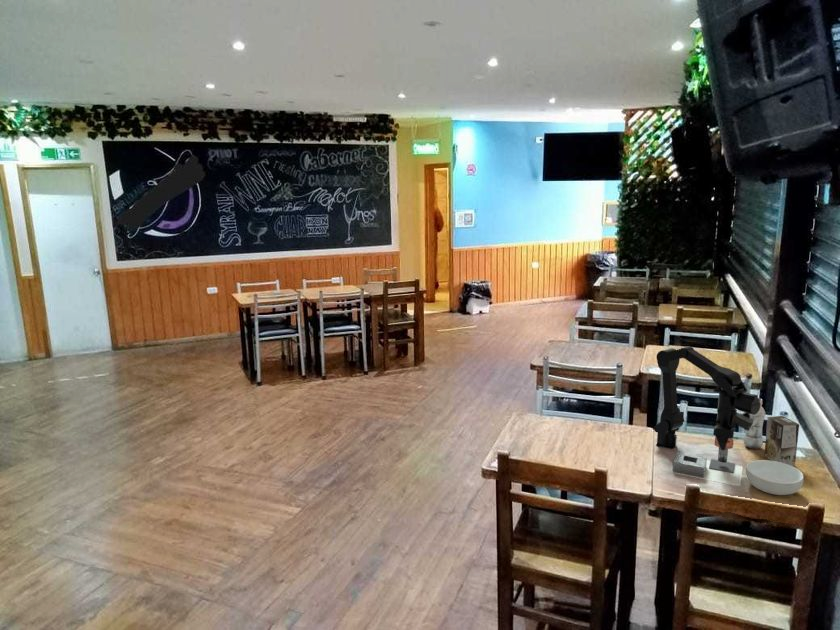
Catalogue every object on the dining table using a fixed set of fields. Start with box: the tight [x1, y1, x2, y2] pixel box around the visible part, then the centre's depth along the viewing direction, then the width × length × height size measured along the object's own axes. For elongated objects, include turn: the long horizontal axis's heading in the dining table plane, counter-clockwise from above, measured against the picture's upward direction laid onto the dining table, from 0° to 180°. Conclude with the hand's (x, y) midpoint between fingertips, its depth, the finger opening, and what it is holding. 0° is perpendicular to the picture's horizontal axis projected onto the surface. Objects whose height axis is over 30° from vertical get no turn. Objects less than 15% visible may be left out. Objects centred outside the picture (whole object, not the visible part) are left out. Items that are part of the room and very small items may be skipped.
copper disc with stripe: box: [714, 436, 734, 463], centre depth 213 cm, size 6×6×9 cm
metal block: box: [672, 451, 708, 479], centre depth 212 cm, size 10×10×4 cm
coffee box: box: [764, 415, 800, 467], centre depth 217 cm, size 9×6×16 cm
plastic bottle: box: [743, 397, 766, 450], centre depth 229 cm, size 6×7×20 cm
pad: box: [709, 458, 736, 473], centre depth 214 cm, size 8×8×1 cm
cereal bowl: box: [745, 459, 804, 496], centre depth 197 cm, size 17×17×7 cm
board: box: [673, 459, 744, 487], centre depth 212 cm, size 21×17×1 cm
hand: (723, 446), depth 213 cm, fingers closed on copper disc with stripe, 6 cm apart
